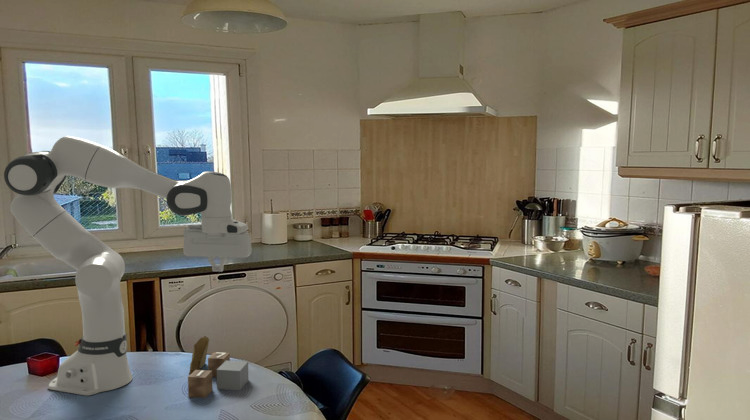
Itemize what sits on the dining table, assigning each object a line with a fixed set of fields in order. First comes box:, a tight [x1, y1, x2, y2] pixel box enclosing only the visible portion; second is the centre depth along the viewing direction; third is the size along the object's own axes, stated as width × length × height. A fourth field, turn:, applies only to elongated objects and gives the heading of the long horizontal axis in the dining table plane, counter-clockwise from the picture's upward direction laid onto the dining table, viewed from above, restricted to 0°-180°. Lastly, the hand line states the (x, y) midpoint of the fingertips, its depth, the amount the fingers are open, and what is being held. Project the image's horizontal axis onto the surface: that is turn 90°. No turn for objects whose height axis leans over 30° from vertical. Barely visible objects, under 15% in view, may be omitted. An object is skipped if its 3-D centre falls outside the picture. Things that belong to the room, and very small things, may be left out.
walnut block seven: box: [207, 351, 231, 378], centre depth 169 cm, size 5×5×6 cm
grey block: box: [216, 360, 249, 391], centre depth 161 cm, size 7×7×6 cm
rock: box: [188, 335, 210, 375], centre depth 172 cm, size 11×9×10 cm
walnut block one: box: [187, 369, 214, 399], centre depth 155 cm, size 5×5×6 cm
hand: (217, 271), depth 163 cm, fingers closed
